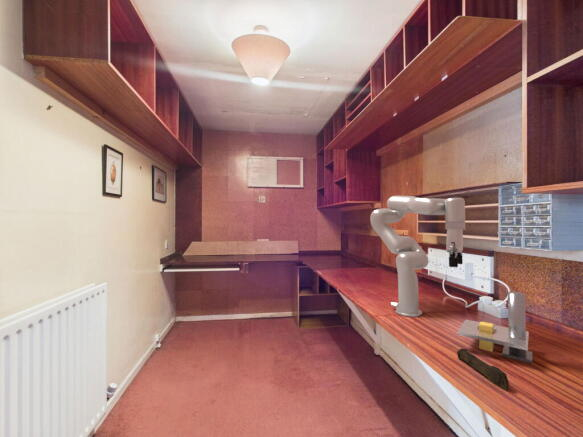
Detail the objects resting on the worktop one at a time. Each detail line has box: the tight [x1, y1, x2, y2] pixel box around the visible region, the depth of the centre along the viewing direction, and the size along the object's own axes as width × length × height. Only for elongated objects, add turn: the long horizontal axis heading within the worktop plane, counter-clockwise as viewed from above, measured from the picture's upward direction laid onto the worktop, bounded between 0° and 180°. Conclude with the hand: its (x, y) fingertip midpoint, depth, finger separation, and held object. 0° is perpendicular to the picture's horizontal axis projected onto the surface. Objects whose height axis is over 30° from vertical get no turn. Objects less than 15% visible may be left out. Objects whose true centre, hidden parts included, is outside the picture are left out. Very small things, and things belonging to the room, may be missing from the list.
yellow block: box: [478, 321, 495, 352], centre depth 106 cm, size 4×4×9 cm
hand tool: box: [456, 347, 510, 391], centre depth 89 cm, size 19×4×4 cm, turn 2°
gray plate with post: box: [457, 291, 533, 364], centre depth 104 cm, size 21×16×22 cm
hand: (455, 265), depth 122 cm, fingers open, 9 cm apart
